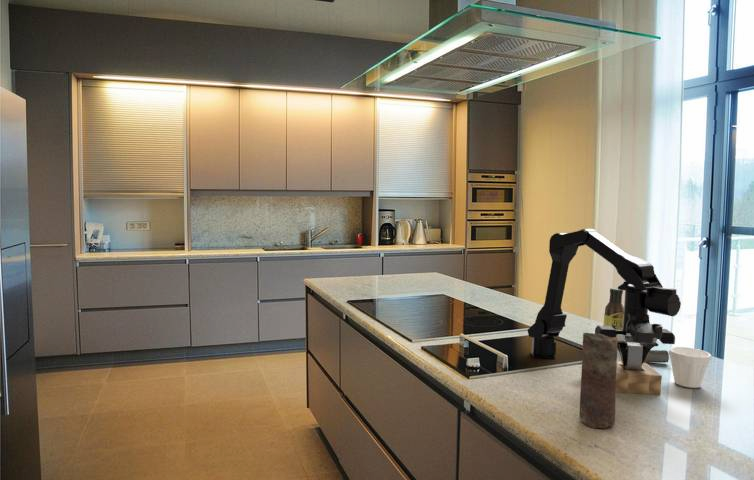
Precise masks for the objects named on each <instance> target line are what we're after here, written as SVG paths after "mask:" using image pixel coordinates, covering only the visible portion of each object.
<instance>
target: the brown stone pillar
mask: <svg viewBox="0 0 754 480" xmlns="http://www.w3.org/2000/svg"><path fill="white" fill-rule="evenodd" d="M617 343H618V339H617V338H616V337H613V338H612V337H608V336H605V335H602V334H595V333H593V332H592V333H591V332H583V333H582V354H581V375H580V376H581V377H580V378H581V380H580V396H579V419H580V420H581V421H582V422H583V423H584V424H585V425H586V427H589V428H593V429H599V428H600V429H605V428H606V429H607V427H611V426H614V425H615V422H616V396H617V395H616V393H617V392H616V371H617V361H618V348H617Z"/></svg>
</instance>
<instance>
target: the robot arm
mask: <svg viewBox="0 0 754 480" xmlns="http://www.w3.org/2000/svg"><path fill="white" fill-rule="evenodd" d="M548 245H549V246H548V248H549V249H548V253H549V255H550V257H551V267H550V273H549V277H548V283H547V290H546V294H545V300H544V303H543V306H542V307H541V308H540V310H539V311H538V312H537V314H536V318H535V321H534V323H533V324H532V325H531V326H530V327H528V328H527V334H528V336H529V337H530V338H532V340H531V341H532V342H531V350H530V354H531V355H532V357H533V358H536V359H538V358H539V359H552V360H553V359H556V357H555V356H556V353H557V351H556V350H557V342H556V341H555V340H556V339H555V337H557V338H558V337H559V335H560V333H561V332H562V331H563V329H564V327H566V320H567V318H568V317H567V314H566V313H563V310H562V302H563V297H564V292H565V286H566V282H567V277H568V272H569V266H570V263H571V261H572V260H573V259H574V258H575V256H576V255H577V252H578V249H579V247H583V246H587V247H588V248H589V249H591V250H592V251H594V252H595V253H596V254H597V255H599V256H600V257H602V258H603V259H604V260H606V261H607V262H608V263H610V265H612V266H614V269H615V270H616V272H617V274H618V275H619V276H620V278H621V279H622V280H623V283H621V284H620V285H618V286H617V288H618V289H620V290H623V291H624V304H623V305H624V306H623V307H624V310H623V314H624V317H623V325H622V329H623V330H615V329H614V328H613V327H611V326H603V325H601V324H600V325H599V324H598V325H596V326H595V328H594V334H602V335H605V336H608V337H612V338H613V337H616V338H617V339H618V343H617V352H618V354H619V357H620V361H622V363H623V365H624V366H626V346H627V342H626V341H625V337H627V338H632V339H633V341H634V342H636V343H639V344H640V345H642V346H643V353H642V364H643V362H644V360H645V358H646V356H647V354H648V353H649V351H650V350H653V348H654V347H658V346H659V343H657V342H658V340H659V341H660V343H661V344H662V345H675V344H676V336H675V334H674V333H673V332H672V331H669V329H667V328H664V326H663V325H662V323H651V322H650V315H649V314H648V311H649V312H650V313H655V314H659V315H665V316H668V317H675V316H677V315H678V313H679V311H680V309H681V306H682V301H681V299H680V296H679V295H678V294H677V289H676V288H665V287H664V286H663V284H662V283H661V281H660V280H659V278H658V277H657V275H656V272H655V269H654V268H655V267H654V266H653V264H652V263H651V262H649V261H647V260H645V259H642V258H640V257H638V256H634V255H631V254H628V253H626V252H625V251H623V250H622V249H621V248H620V247H618V246H617V245H615V244H613V243H612V242H611V241H609V240H608V239H607V238H605V237H604V236H603V235H601V234H599V233H598V232H597V230H595V229H593V228H583V229H580V230H578V231H572V232H555V233H554V234H552V235H551V236H550V238H549V244H548ZM644 363H645V362H644Z"/></svg>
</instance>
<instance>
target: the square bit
mask: <svg viewBox="0 0 754 480" xmlns="http://www.w3.org/2000/svg"><path fill="white" fill-rule="evenodd" d="M642 353H643V346H642V345H640V344H639V343H633V342H627V346H626V366H624V365H623V369H624V370H630V371H641V368H642Z"/></svg>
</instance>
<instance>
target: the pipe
mask: <svg viewBox="0 0 754 480" xmlns="http://www.w3.org/2000/svg"><path fill="white" fill-rule="evenodd" d="M625 341H626V342H633V343H636V342H634V341H633V339H632V338H627V337H625ZM669 360H670V355H669V350H665V349H662V350H661V349H659V350H658V349H655V350H654V349H651V350H650V351H649V353H648V354H647V356H646V358H645V360H644V362H643V363H656V364H657V363H661V364H662V363H669Z"/></svg>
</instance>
